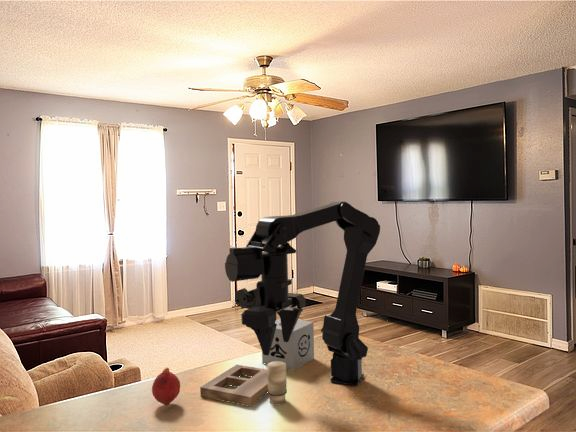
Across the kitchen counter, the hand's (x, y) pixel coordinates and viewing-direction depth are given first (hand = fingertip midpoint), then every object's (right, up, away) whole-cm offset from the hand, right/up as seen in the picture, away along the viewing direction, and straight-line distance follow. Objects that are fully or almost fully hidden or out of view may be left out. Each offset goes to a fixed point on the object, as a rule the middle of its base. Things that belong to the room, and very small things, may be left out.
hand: (276, 348), depth 98 cm
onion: (-23, -12, 0) cm, 27 cm away
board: (-8, -11, +8) cm, 16 cm away
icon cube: (+3, -11, +25) cm, 27 cm away
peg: (0, -12, 0) cm, 12 cm away
